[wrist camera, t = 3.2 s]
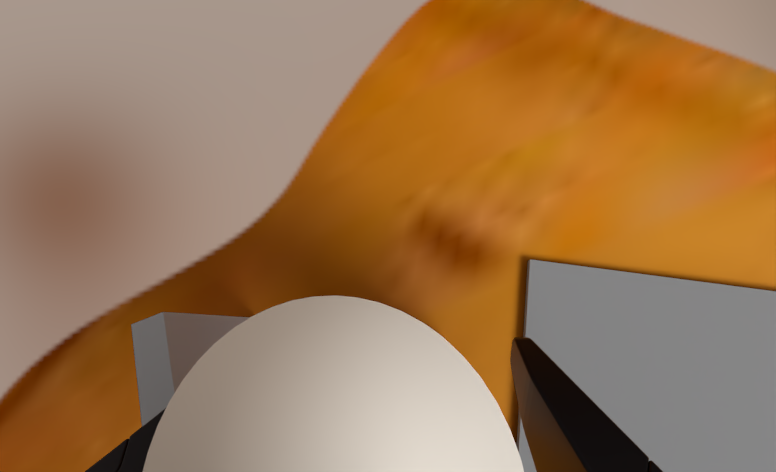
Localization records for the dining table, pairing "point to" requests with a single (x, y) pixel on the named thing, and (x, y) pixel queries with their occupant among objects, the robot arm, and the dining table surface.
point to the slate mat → (663, 361)
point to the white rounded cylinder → (332, 398)
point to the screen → (172, 353)
